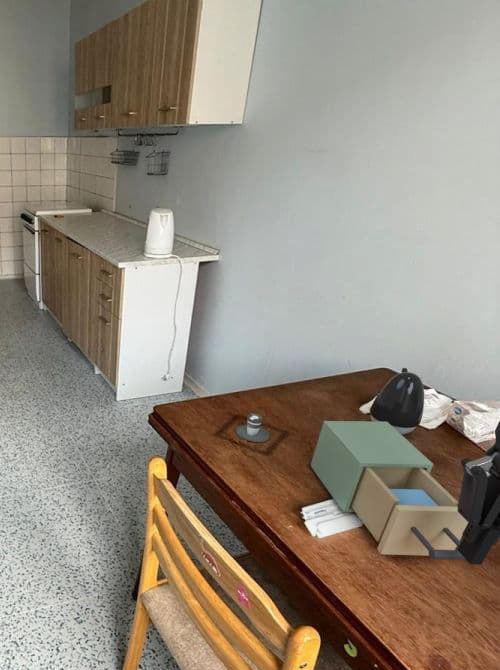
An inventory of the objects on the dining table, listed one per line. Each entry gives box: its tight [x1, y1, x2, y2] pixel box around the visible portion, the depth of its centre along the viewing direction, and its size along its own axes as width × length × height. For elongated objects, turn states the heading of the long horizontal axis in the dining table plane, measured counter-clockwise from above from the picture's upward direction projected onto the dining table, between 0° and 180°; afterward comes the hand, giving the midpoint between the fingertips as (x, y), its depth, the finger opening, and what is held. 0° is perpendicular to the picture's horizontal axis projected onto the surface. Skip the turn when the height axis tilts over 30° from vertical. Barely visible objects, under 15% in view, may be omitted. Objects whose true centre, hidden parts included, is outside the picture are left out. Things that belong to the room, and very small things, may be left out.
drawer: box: [350, 467, 468, 561], centre depth 80 cm, size 20×11×10 cm, turn 177°
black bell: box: [369, 367, 425, 436], centre depth 112 cm, size 10×10×15 cm
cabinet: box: [310, 420, 435, 513], centre depth 93 cm, size 15×13×12 cm
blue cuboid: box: [390, 489, 438, 506], centre depth 82 cm, size 7×5×6 cm
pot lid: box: [235, 412, 271, 443], centre depth 113 cm, size 12×12×5 cm
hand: (468, 556), depth 68 cm, fingers closed
